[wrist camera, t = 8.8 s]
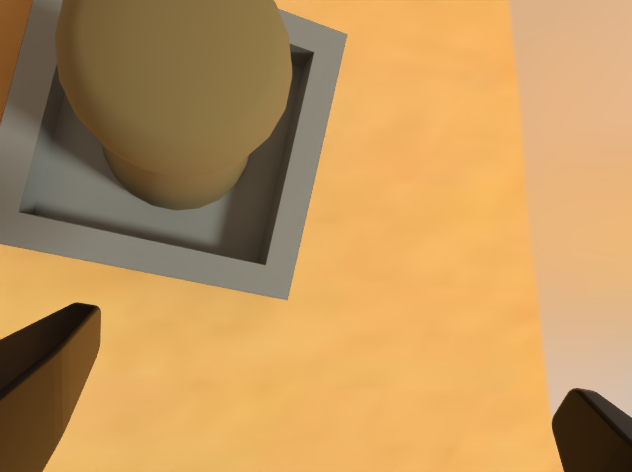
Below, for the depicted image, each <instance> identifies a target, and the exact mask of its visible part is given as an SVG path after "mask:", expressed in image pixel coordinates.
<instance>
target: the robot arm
mask: <svg viewBox="0 0 632 472" xmlns="http://www.w3.org/2000/svg"><path fill="white" fill-rule="evenodd" d="M100 330H101V311H100V308H99V307H98V306H95V305H90V304H84V303H73V304H71V305H69V306H67V307H65V308H63V309H61V310H59V311H57V312H55V313H53V314H51V315H49V316H47V317H45V318H43V319H41V320H39V321H37V322H35V323H33V324H31V325H29V326H27V327H25V328H23V329H21V330H19V331H17V332H15V333H13V334H11V335H9V336H7V337H5V338H3V339H1V340H0V472H43V470H44V468H45V466H46V464H47V463H48V461H49V459H50V457H51V456H52V454H53V452H54V450H55V449H56V447H57V445H58V443H59V441H60V439H61V437H62V436H63V433H64V431H65V429H66V427H67V425H68V422H69V420H70V418H71V415H72V413H73V411H74V408H75V406H76V404H77V401H78V399H79V397H80V394H81V392H82V390H83V387H84V385H85V383H86V380H87V378H88V376H89V373H90V371H91V369H92V366H93V364H94V362H95V359H96V357H97V354H98V351H99V347H100ZM552 430H553V434H554V437H555V441H556V445H557V448H558V452H559V455H560V459H561V463H562V466H563V470H564V472H632V418H631V417H630V416H628V415H627V414H625V413H624V412H623V411H621V410H620V409H619V408H617V407H616V406H615V405H613V404H612V403H611V402H609V401H608V400H606V399H605V398H604V397H602V396H601V395H600V394H598V393H597V392H594V391H591V390H586V389H580V388H574V389H572V390H570V391H569V392H568V394H567V395H566V397H565V398H564V400H563V402H562V403H561V405H560V406H559V408H558V410H557V411H556V413H555V414H554V416H553V420H552Z"/></svg>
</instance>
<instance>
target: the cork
mask: <svg viewBox="0 0 632 472" xmlns="http://www.w3.org/2000/svg"><path fill="white" fill-rule="evenodd" d="M55 49H56V57H57V66H58V74H59V81H60V83H61V85H62V87H63V89H64V91H65V94H66V96H67V98H68V100H69V102H70V104H71V106H72V108H73V110H74V112H75V114H76V116H77V118H78V119H79V120H80V121H81V122H82V123H83V124H84V125H85V126H86V127H87V128H88V129H89V130H90V131H91V132H92V133H93V135H94V136H95V137H96V138H97V139H98V140H99V141H100V142H101V143H102V144H103V152H104V156H105V158H106V160H107V162H108V164H109V166H110V168H111V171H112V173H113V175H114V176H115V178H116V179H117V180H118V181H119V182H120V183H121V184H122V185H123V186H124V187H125V188H126V189H127V190H128V191H129V192H130V193H131V194H132V195H134V196H136V197H138V198H139V199H141V200H143V201H145V202H147V203H148V204H150V205H152V206H156V207H161V208H166V209H170V210H175V211H176V210H187V209H198V208H201V207H203V206H206V205H208V204H210V203H213V202H215V201H217V200H219V199H221V198H222V197H223V196H224V195H225V194H226V193H227V192H229V191H230V190H231V189H232V188H233V187H234V186H235V185H236V184H237V182H238V180H239V179H240V177H241V175H242V174H243V172H244V170H245V168H246V166H247V161H248V157H249V154H250V153H252V152H253V151H254V150H255V149H256V148H257V147H259V146H260V145H261V144H262V143H263V142H264V141H265V140H267V139H268V138H269V136H270V135H271V133H272V131H273V130H274V128H275V126H276V124H277V123H278V121H279V119H280V118H281V116H282V114H283V112H284V111H285V109H286V104H287V99H288V95H289V90H290V85H291V80H292V62H291V53H290V43H289V35H288V32H287V30H286V27H285V25H284V23H283V20H282V18H281V15H280V13H279V11H278V8H277V6H276V3H275V2H274V0H63V2H62V6H61V11H60V15H59V19H58V24H57V28H56V32H55Z"/></svg>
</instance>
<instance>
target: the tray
mask: <svg viewBox="0 0 632 472" xmlns="http://www.w3.org/2000/svg"><path fill="white" fill-rule="evenodd" d="M62 2H63V0H33V3H32V6H31V10H30V14H29V18H28V22H27V25H26V29H25V33H24V37H23V41H22V44H21V48H20V52H19V56H18V60H17V63H16V67H15V71H14V75H13V79H12V82H11V86H10V90H9V94H8V98H7V101H6V105H5V109H4V113H3V117H2V120H1V124H0V244H3V245H9V246H14V247H19V248H24V249H29V250H34V251H39V252H44V253H49V254H54V255H60V256H65V257H70V258H75V259H80V260H85V261H90V262H95V263H100V264H105V265H110V266H116V267H121V268H126V269H131V270H136V271H141V272H146V273H151V274H156V275H161V276H167V277H172V278H177V279H182V280H187V281H192V282H197V283H202V284H207V285H212V286H218V287H223V288H228V289H233V290H238V291H243V292H248V293H253V294H258V295H263V296H268V297H274V298H279V299H284V300H288V296H289V291H290V287H291V282H292V278H293V274H294V269H295V265H296V260H297V256H298V251H299V247H300V242H301V238H302V234H303V229H304V225H305V220H306V216H307V211H308V207H309V202H310V198H311V193H312V189H313V185H314V180H315V176H316V171H317V167H318V162H319V158H320V153H321V149H322V144H323V140H324V136H325V131H326V127H327V122H328V118H329V113H330V109H331V104H332V100H333V96H334V91H335V87H336V82H337V78H338V73H339V69H340V64H341V60H342V55H343V51H344V47H345V42H346V38H347V34H345V33H342V32H339V31H337V30H334V29H331V28H329V27H326V26H323V25H321V24H318V23H315V22H313V21H310V20H307V19H304V18H302V17H299V16H296V15H294V14H291V13H288V12H286V11H283V10H280V9H278V11H279V13H280V15H281V18H282V20H283V23H284V25H285V27H286V30H287V32H288V35H289V43H290V53H291V62H292V80H291V85H290V90H289V95H288V99H287V104H286V109H285V111H284V112H283V114H282V116H281V118H280V119H279V121H278V123H277V124H276V126H275V128H274V130H273V131H272V133H271V135H270V136H269V138H268V139H267V140H265V141H264V142H263V143H262V144H261V145H260V146H259V147H257V148H256V149H255V150H254V151H253V152H252V153H250V154H249V157H248V161H247V166H246V168H245V170H244V172H243V174H242V175H241V177H240V179H239V180H238V182H237V184H236V185H235V186H234V187H233V188H232V189H231V190H230V191H229V192H227V193H226V194H225V195H224V196H223V197H222V198H221V199H219V200H217V201H215V202H213V203H210V204H208V205H206V206H203V207H201V208H198V209H187V210H176V211H175V210H170V209H166V208H161V207H156V206H152V205H150V204H148V203H147V202H145V201H143V200H141V199H139V198H138V197H136V196H134V195H132V194H131V193H130V192H129V191H128V190H127V189H126V188H125V187H124V186H123V185H122V184H121V183H120V182H119V181H118V180H117V179H116V178H115V176H114V175H113V173H112V171H111V168H110V166H109V164H108V162H107V160H106V158H105V156H104V152H103V144H102V143H101V142H100V141H99V140H98V139H97V138H96V137H95V136H94V135H93V133H92V132H91V131H90V130H89V129H88V128H87V127H86V126H85V125H84V124H83V123H82V122H81V121H80V120H79V119H78V118H77V116H76V114H75V112H74V110H73V108H72V106H71V104H70V102H69V100H68V98H67V96H66V94H65V91H64V89H63V87H62V85H61V83H60V81H59V74H58V66H57V57H56V49H55V32H56V28H57V24H58V19H59V15H60V11H61V6H62Z"/></svg>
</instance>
